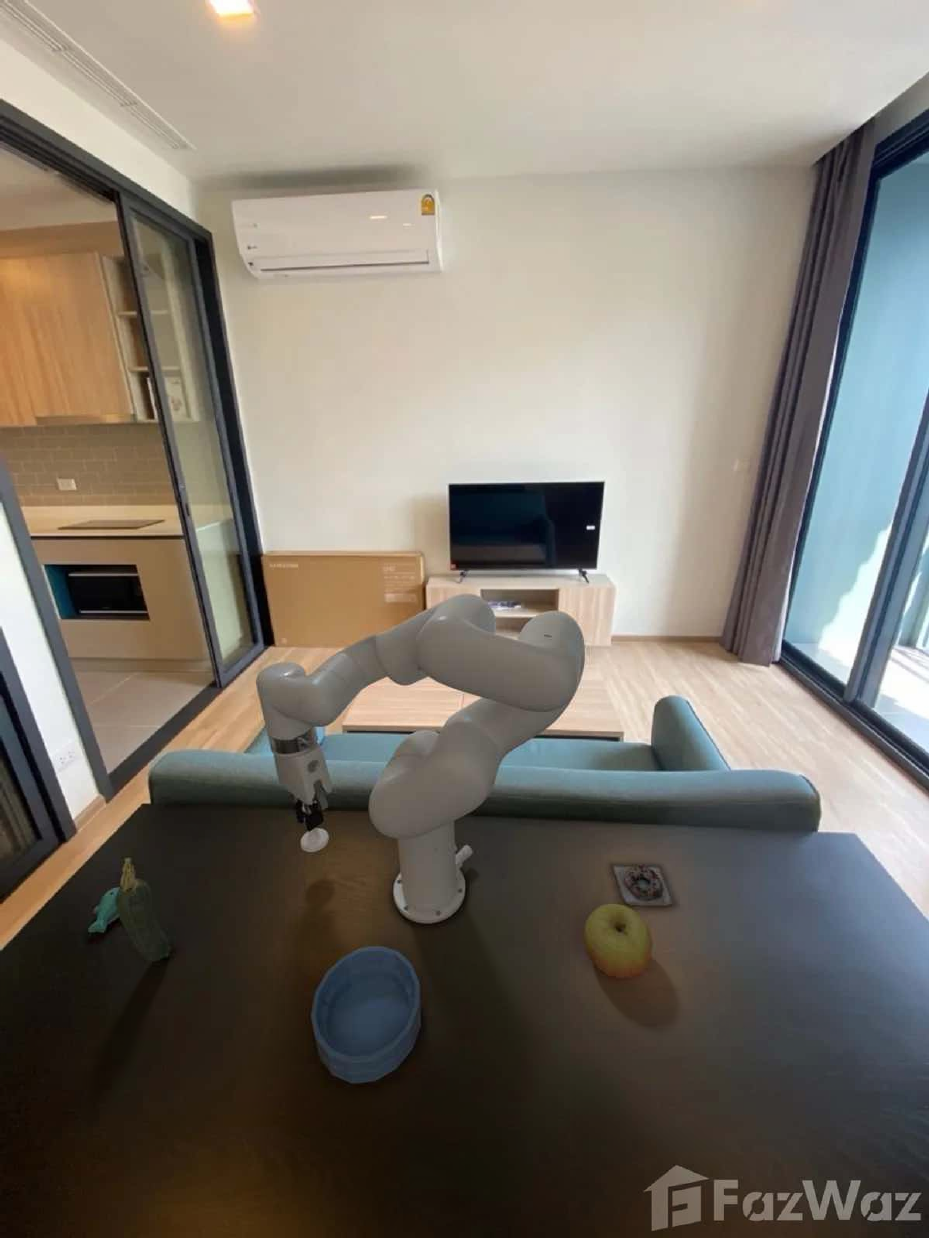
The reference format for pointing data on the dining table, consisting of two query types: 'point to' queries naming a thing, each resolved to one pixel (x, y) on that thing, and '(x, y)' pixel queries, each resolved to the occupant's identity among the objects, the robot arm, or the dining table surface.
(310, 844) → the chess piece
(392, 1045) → the bowl
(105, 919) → the whale figurine
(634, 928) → the apple
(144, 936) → the vegetable
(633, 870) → the donut
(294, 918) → the dining table surface
